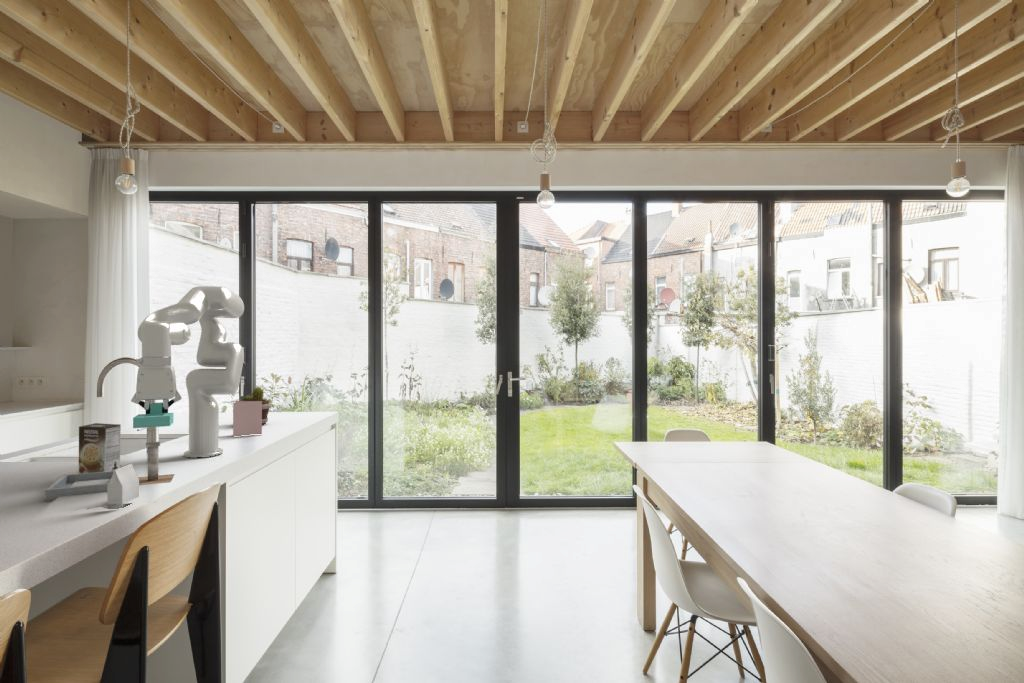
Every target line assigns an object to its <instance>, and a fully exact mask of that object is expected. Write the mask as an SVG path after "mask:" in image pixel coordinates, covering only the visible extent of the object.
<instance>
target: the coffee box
mask: <svg viewBox="0 0 1024 683" xmlns="http://www.w3.org/2000/svg"><path fill="white" fill-rule="evenodd" d="M121 429H122V428H121V424H117V423H114V424H113V423H100V422H95V423H90V424H86V425H81V426H78V474H82V473H94V472H106V471H114V470H116V469H118V468H121V431H122V430H121Z"/></svg>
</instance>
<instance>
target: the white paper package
mask: <svg viewBox="0 0 1024 683" xmlns="http://www.w3.org/2000/svg"><path fill="white" fill-rule="evenodd" d="M138 477H139V476H138V475H137V472H136V471H135V469H134V466H133V464H132V463H130V464H129V463H128V464H127V465H124V466H122V467H121V466H120V468H118V469H116V470H114V472H113V475H112V478H110V479H111V480H110V479H109V480H110V482H109V484H108V486H107V491H106V493H107V502H106V503H107V504H106V505H107V506H106V507H107V510H120V509H119V508H124V507H126V506H128V505H130V504H132V503H133V502H130V501H133V500H134V499H136V498H139V496H140V485H139V478H138ZM128 502H130V503H128ZM132 505H133V504H132ZM130 506H131V505H130ZM128 507H129V506H128ZM126 508H127V507H126ZM124 509H125V508H124Z"/></svg>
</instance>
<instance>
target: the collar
mask: <svg viewBox="0 0 1024 683" xmlns="http://www.w3.org/2000/svg"><path fill="white" fill-rule="evenodd" d="M163 407H164V405H163V401H162V402H151V404H150V414H146V413H144V414H137V415H135V416H134V417H133V418H132V427H133V429H144V428H160V427H162V428H163V427H171V426H172V424H173V423H174V412H168V413H162V409H163Z"/></svg>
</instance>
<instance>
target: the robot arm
mask: <svg viewBox="0 0 1024 683" xmlns="http://www.w3.org/2000/svg"><path fill="white" fill-rule="evenodd" d="M244 312H245V305H244V301H243V299H242V298H241V296H239V295H238V294H236V293H235V292H234V291H232V290H231V289H230V288H227V287H225V286H211V285H210V286H209V285H207V286H206V285H198V286H195V287H192V288H190V290H188V291H187V293H186V294H185V295H184V296H182V298H181V299H180V300H179V301H178V302H177V303H174V304H171V305H168V306H165V307H163V308H160V309H158V310H156V311H154V312H151V313H149V315H147V316H146V317H145V318H144V319H143V321H142V322H141V323H140V325H139V326H138V329H137V337H138V341H140V342H141V357H140V358H136V359H135V363H136V364H139V365H141V366H139V367H138V369H137V376H136V387H135V389H136V390H135V393H134V395H133V396H132V398H131V402H132V403H135V405H139V406H140V407H141V408H142V409H144V410H145V414H150V404H151V403H152V401H159V400H161V401H162V402H163V405H164V407H163V409H162V413H169V408H170V407H172V405H173V404H175V403H177V402H179V401H181V400H183V399H182V395H181V394H180V392H179V391H178V388H177V378H176V373H175V368H174V366H173V365H172V346H181V345H184V344H185V343H187V342H188V341H189V340H190V339H191V335H192V333H191V329H190V327H189V325H193V324H195V323H197V322H198V323H199V324H200V328H201V329H200V330H201V333H200V338H199V342H198V346H197V351H196V364H198V365H199V366H201V367H204V368H196V369H192V370H191V371H189V372H188V373H187V374H186V377H185V387H186V391H187V395H188V450H186V451H185V452H183V456H184V457H185V458H189V457H190V458H189V459H191V458H192V459H195V458H196V459H197V457H202V458H209V457H210V456H211V457H215V455H216V456H219V455H218V454H220V455H222V454H223V453H224V449H223V448H219V418H220V417H219V413H220V412H219V409H220V408H219V405H218V402H217V400H216V399H215V397H214V396H213V395H219V396H220V395H228V396H229V395H233V394H235V393H236V392H237V391H238V390H239V386H240V383H241V377H242V371H243V368H244V367H243V365H244V361H245V360H244V359H245V351H244V348H243V345H241V344H240V343H238V342H235V341H233V342H231V341H226V338H227V334H228V332H227V330H226V328H225V327H224V325H223V324H222V323H221V322H220V321H219V319H238V318H240V317H242V316H243V314H244ZM222 452H223V453H222ZM221 453H222V454H221Z"/></svg>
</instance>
